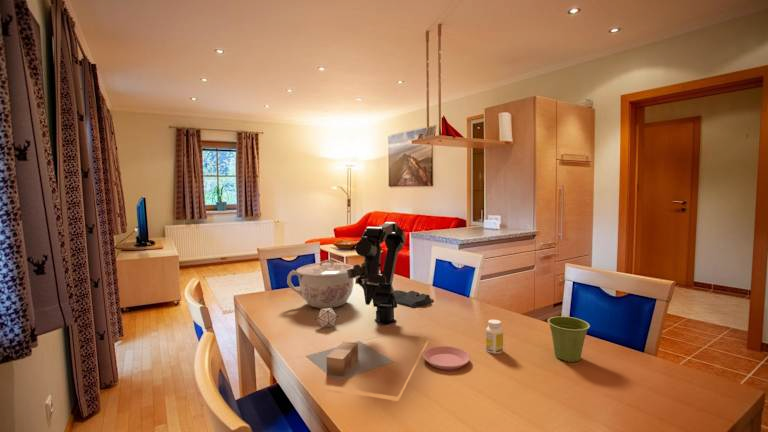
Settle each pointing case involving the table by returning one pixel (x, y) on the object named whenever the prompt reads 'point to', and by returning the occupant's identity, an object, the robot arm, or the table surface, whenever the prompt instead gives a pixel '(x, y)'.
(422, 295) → the dark slate chunk
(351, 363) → the walnut block
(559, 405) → the table surface
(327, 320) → the game die
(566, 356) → the plant pot
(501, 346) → the supplement bottle
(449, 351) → the plate
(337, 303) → the chamber pot
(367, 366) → the rubber mat
